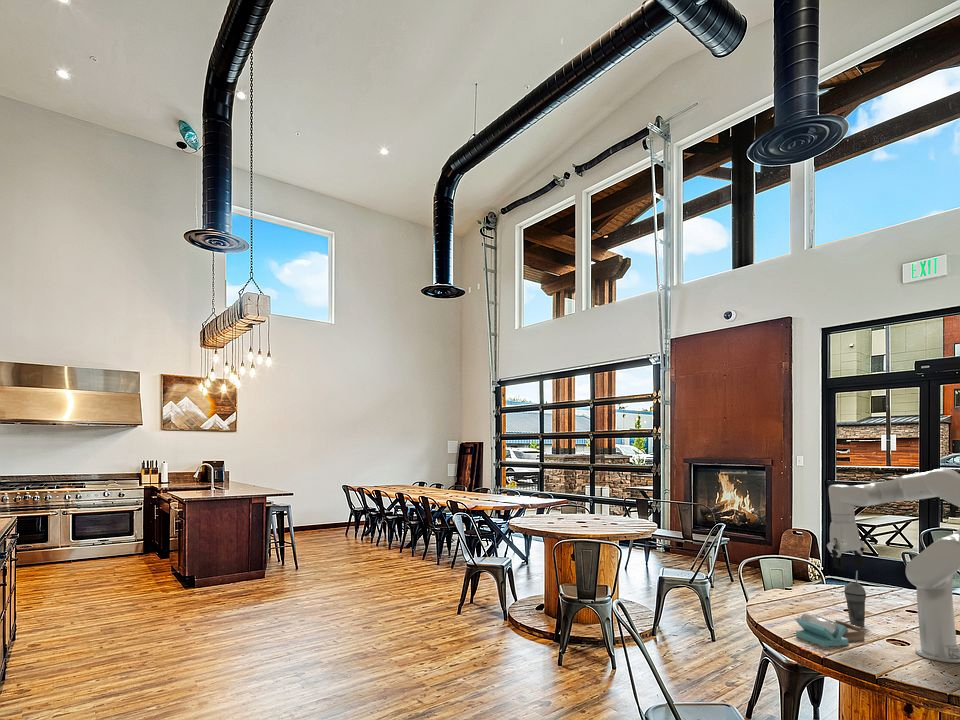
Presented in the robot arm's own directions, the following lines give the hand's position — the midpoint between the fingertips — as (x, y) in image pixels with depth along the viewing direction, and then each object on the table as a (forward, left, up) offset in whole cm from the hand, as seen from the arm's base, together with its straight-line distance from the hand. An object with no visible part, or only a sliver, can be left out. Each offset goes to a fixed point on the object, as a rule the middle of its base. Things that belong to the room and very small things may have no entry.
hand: (848, 567), depth 216 cm
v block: (-1, +15, -24) cm, 28 cm away
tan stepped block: (+1, +4, -24) cm, 24 cm away
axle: (-1, +16, -21) cm, 26 cm away
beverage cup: (+11, -14, -24) cm, 30 cm away
